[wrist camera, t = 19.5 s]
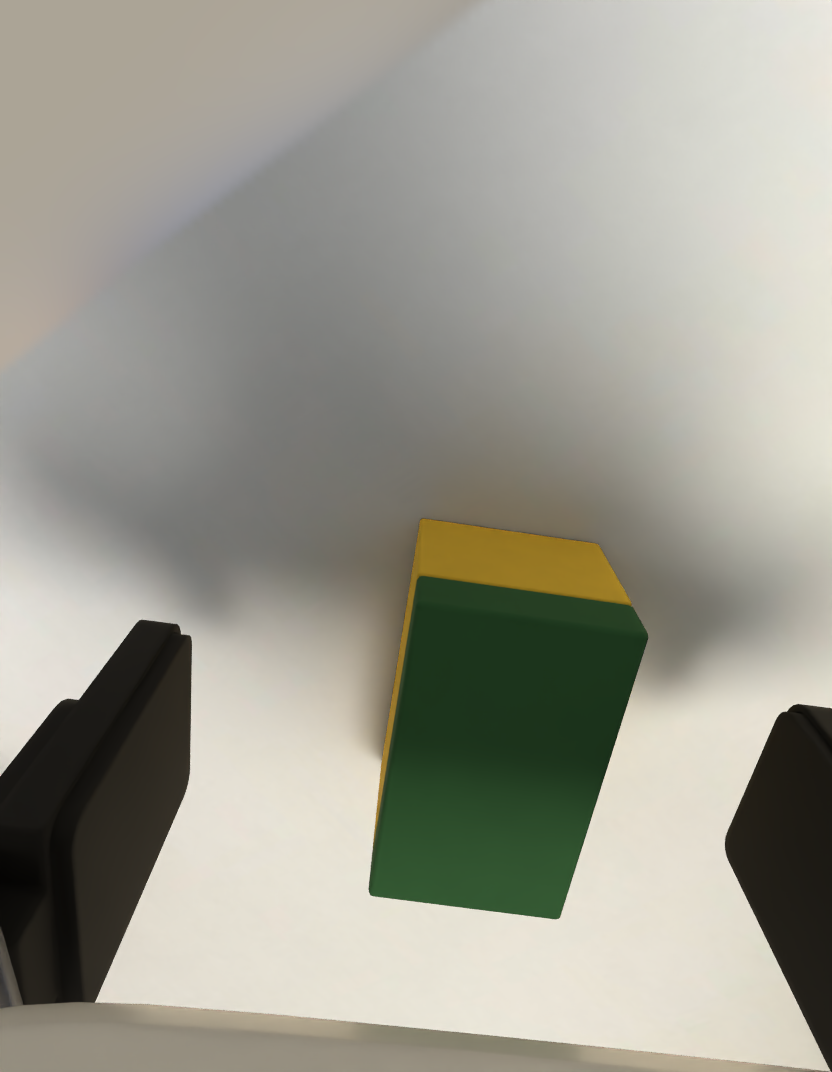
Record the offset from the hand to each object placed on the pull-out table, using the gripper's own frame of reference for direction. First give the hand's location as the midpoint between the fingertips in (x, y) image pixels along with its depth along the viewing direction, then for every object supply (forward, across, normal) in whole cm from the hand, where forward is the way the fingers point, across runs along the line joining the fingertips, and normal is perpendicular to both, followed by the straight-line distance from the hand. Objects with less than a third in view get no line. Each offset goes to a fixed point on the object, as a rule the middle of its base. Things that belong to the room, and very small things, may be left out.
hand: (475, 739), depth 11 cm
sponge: (+4, 0, +1) cm, 4 cm away
